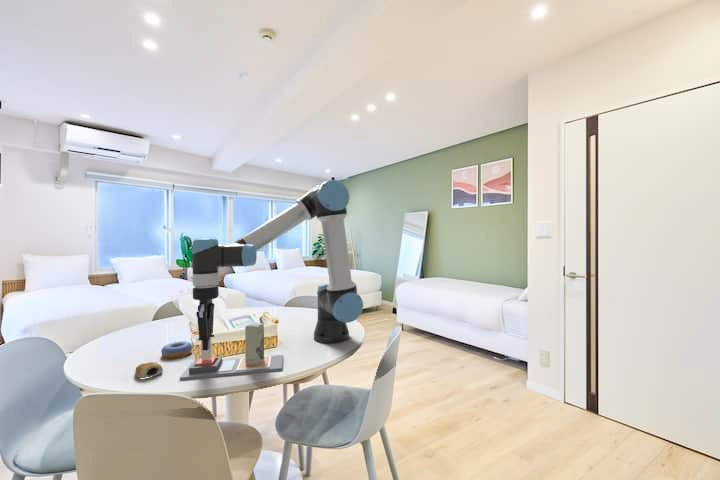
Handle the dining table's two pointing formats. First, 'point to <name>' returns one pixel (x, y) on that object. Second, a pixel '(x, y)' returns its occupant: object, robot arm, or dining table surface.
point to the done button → (206, 362)
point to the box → (254, 344)
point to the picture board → (232, 367)
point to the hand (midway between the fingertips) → (206, 358)
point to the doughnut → (176, 350)
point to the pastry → (148, 370)
